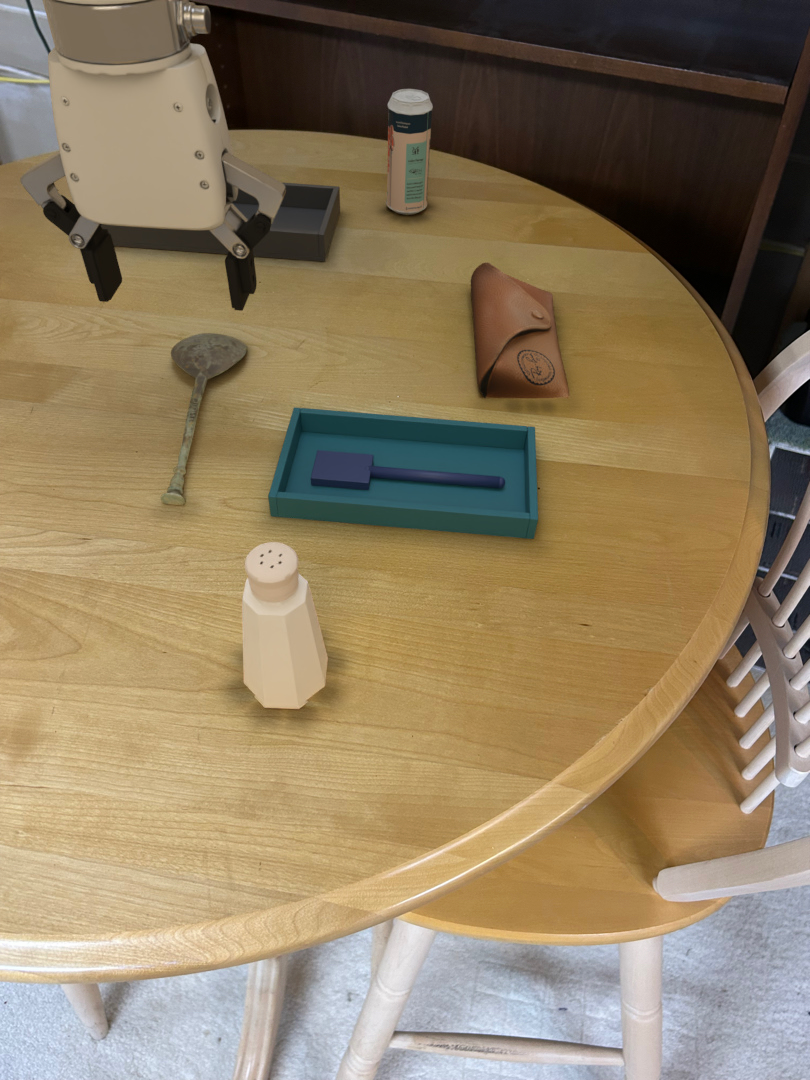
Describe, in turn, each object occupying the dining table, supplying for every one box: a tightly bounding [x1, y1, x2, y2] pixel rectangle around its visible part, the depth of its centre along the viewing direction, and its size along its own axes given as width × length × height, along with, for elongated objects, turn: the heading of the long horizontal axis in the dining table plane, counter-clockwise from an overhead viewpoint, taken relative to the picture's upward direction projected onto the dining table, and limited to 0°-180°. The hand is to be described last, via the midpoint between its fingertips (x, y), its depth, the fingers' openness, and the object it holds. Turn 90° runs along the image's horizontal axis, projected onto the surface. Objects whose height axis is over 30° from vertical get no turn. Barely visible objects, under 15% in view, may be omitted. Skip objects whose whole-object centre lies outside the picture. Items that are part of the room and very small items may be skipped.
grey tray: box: [101, 181, 341, 262], centre depth 87 cm, size 25×11×3 cm, turn 85°
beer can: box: [385, 88, 434, 216], centre depth 89 cm, size 5×5×12 cm
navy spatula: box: [311, 450, 505, 490], centre depth 61 cm, size 15×3×1 cm, turn 85°
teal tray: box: [267, 406, 539, 540], centre depth 61 cm, size 19×10×2 cm, turn 85°
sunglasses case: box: [470, 262, 570, 399], centre depth 74 cm, size 18×7×7 cm
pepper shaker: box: [241, 541, 329, 710], centre depth 46 cm, size 5×5×11 cm
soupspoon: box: [160, 332, 248, 506], centre depth 66 cm, size 22×3×7 cm
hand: (176, 296), depth 58 cm, fingers open, 9 cm apart
